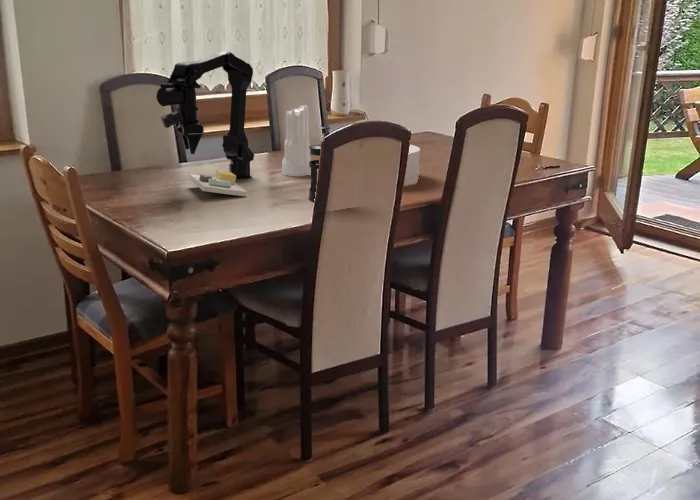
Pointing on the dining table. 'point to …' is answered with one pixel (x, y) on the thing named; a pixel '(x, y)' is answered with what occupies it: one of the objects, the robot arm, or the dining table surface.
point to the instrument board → (216, 188)
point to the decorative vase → (297, 143)
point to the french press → (315, 166)
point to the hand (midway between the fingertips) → (189, 151)
